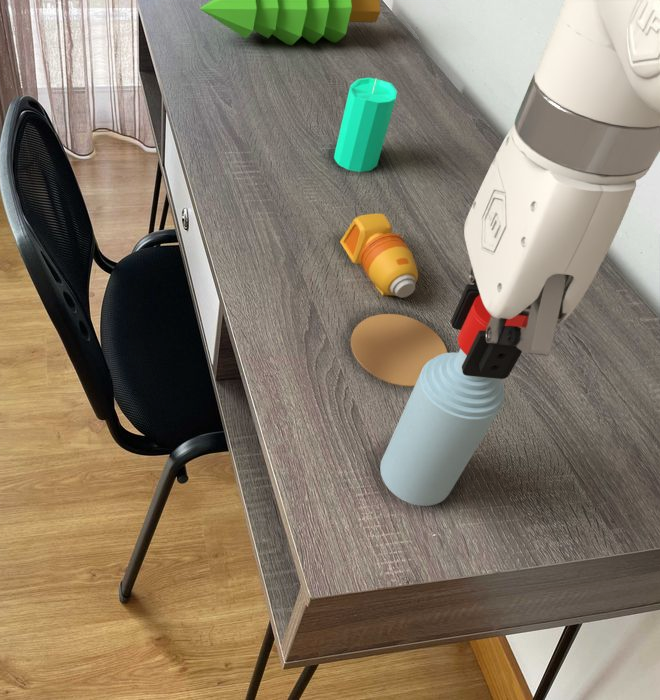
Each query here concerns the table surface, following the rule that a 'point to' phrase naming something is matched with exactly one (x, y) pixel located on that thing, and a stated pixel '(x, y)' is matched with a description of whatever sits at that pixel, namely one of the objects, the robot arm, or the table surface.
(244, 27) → the decorative tree
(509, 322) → the cap
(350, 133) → the candle
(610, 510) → the table surface
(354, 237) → the yellow plastic toy
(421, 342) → the coaster
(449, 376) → the bottle
